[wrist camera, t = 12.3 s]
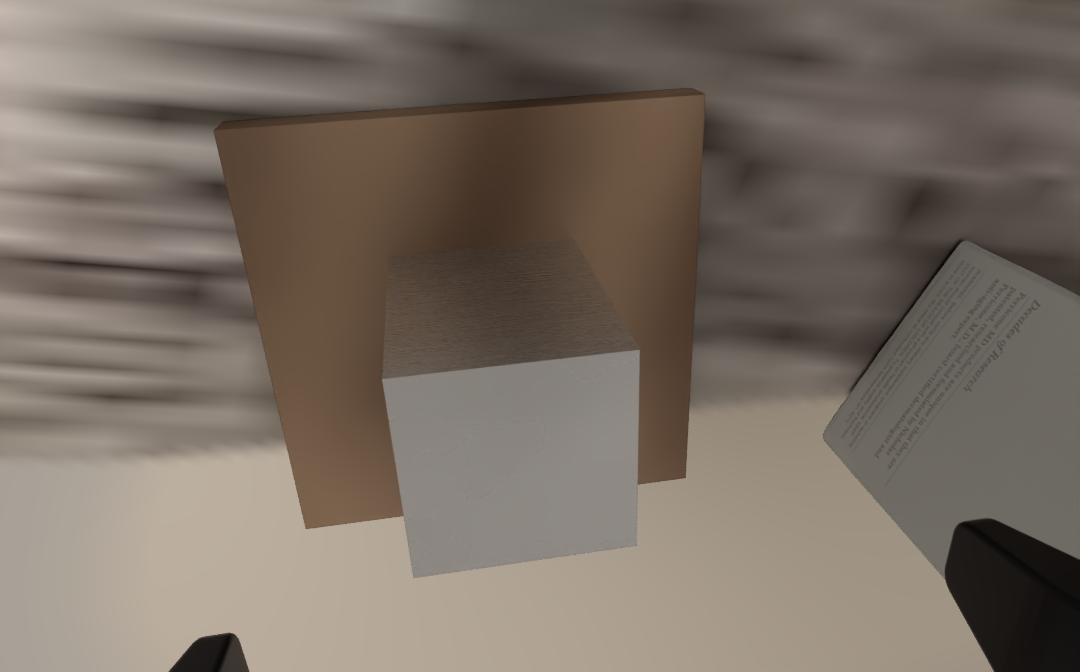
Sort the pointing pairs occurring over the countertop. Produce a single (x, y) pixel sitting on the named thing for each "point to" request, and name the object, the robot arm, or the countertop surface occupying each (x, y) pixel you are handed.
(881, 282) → the countertop surface
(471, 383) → the steel block
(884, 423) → the supplement box
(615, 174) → the copper plate
